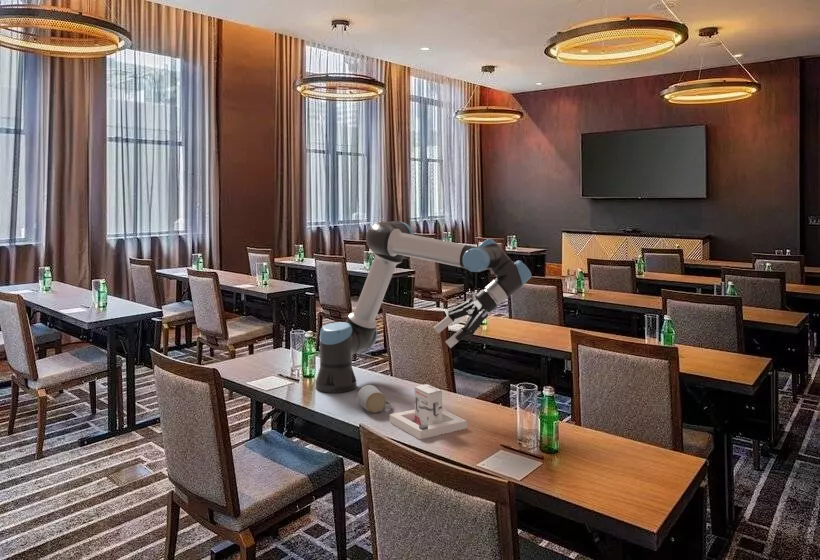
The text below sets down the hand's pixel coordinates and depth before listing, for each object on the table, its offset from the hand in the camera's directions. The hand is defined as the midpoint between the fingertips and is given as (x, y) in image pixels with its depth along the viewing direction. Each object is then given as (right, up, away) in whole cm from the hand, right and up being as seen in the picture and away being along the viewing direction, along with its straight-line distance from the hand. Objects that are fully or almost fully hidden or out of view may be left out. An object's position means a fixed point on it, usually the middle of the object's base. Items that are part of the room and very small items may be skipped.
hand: (441, 337), depth 206 cm
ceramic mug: (-22, -24, -1) cm, 33 cm away
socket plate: (-5, -26, -16) cm, 31 cm away
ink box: (-5, -26, -16) cm, 31 cm away
